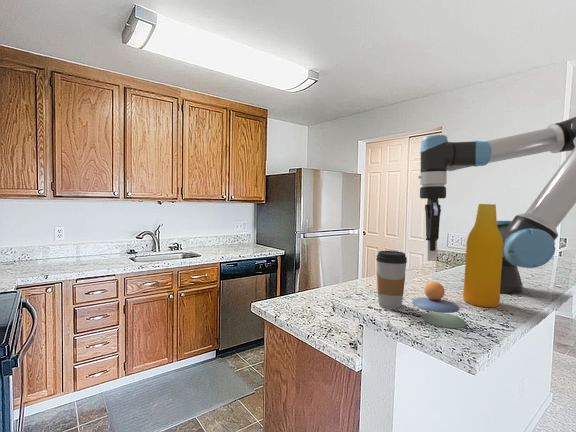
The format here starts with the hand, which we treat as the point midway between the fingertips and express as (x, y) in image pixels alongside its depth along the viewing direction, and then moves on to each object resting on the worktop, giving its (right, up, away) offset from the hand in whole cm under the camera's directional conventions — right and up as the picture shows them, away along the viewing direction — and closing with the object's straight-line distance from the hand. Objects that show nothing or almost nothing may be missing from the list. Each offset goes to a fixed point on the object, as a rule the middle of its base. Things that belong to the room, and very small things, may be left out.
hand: (431, 260), depth 101 cm
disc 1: (-4, -11, -10) cm, 16 cm away
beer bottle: (+11, -12, -7) cm, 18 cm away
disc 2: (-7, -12, -21) cm, 25 cm away
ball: (-2, -8, -6) cm, 10 cm away
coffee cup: (-17, -11, -11) cm, 23 cm away
